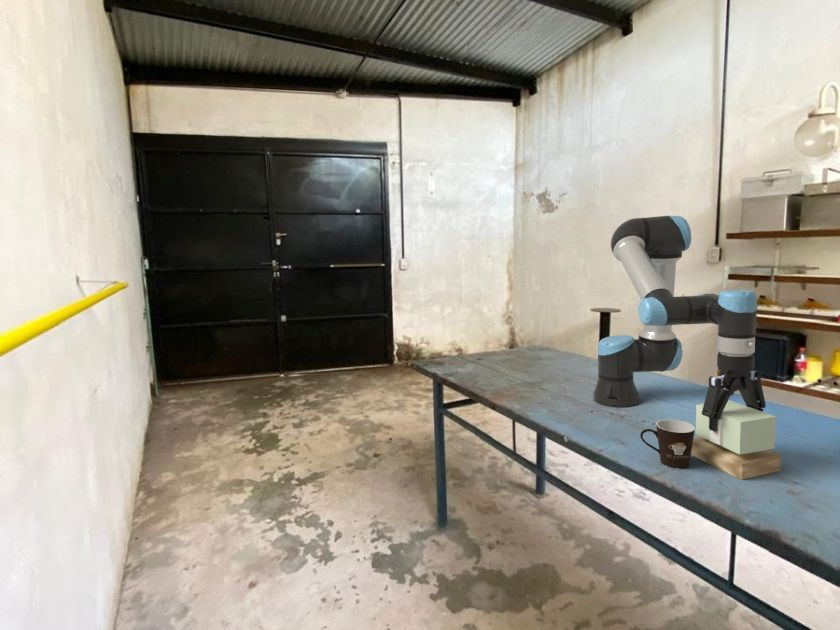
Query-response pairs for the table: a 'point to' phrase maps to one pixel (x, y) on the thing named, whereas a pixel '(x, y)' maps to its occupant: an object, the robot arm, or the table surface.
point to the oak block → (736, 459)
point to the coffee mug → (673, 442)
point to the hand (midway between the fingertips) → (733, 439)
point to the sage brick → (741, 428)
